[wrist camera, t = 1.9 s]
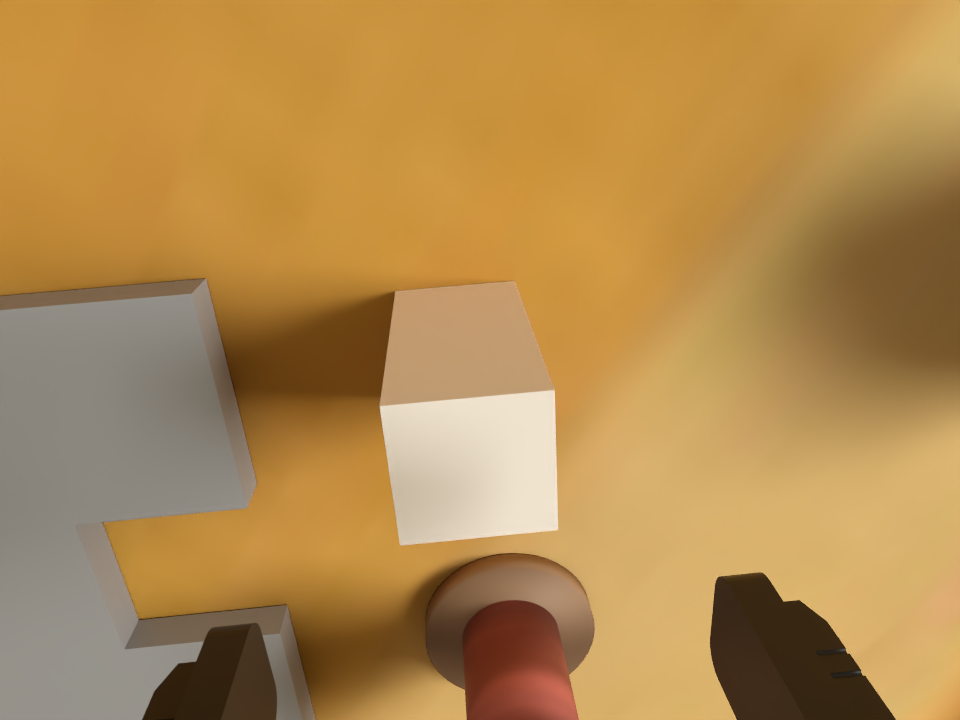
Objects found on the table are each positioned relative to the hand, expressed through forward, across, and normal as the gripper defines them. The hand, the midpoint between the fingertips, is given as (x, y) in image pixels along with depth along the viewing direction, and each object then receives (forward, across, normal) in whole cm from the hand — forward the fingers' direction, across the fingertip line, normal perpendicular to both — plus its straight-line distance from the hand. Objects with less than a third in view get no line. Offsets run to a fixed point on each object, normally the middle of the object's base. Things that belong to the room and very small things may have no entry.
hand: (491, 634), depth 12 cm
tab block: (+13, 0, 0) cm, 13 cm away
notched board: (+13, +14, +8) cm, 21 cm away
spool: (+13, -1, +13) cm, 18 cm away
